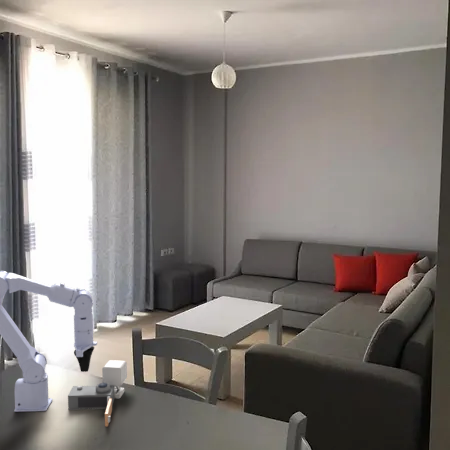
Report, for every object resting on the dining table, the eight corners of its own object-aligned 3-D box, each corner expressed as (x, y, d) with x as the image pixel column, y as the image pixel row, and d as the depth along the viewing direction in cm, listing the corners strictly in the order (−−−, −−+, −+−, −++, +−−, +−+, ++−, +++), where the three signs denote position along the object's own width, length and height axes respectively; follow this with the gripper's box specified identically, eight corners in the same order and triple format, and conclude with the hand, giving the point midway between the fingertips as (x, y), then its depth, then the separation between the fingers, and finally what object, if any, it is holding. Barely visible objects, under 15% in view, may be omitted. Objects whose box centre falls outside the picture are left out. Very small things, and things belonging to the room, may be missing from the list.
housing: (68, 409, 160) (67, 390, 159) (73, 399, 167) (73, 380, 166) (111, 409, 161) (110, 389, 160) (114, 398, 168) (114, 379, 167)
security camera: (127, 389, 175) (126, 360, 174) (121, 398, 168) (120, 368, 167) (108, 388, 175) (108, 359, 174) (101, 397, 169) (101, 367, 167)
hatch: (107, 408, 160) (107, 396, 160) (114, 408, 161) (114, 396, 160) (102, 426, 150) (102, 413, 149) (110, 426, 150) (109, 412, 149)
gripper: (92, 336, 157) (93, 379, 158) (100, 322, 171) (101, 362, 173) (68, 337, 156) (69, 380, 158) (78, 322, 171) (79, 362, 172)
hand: (84, 370), depth 165 cm, fingers closed
